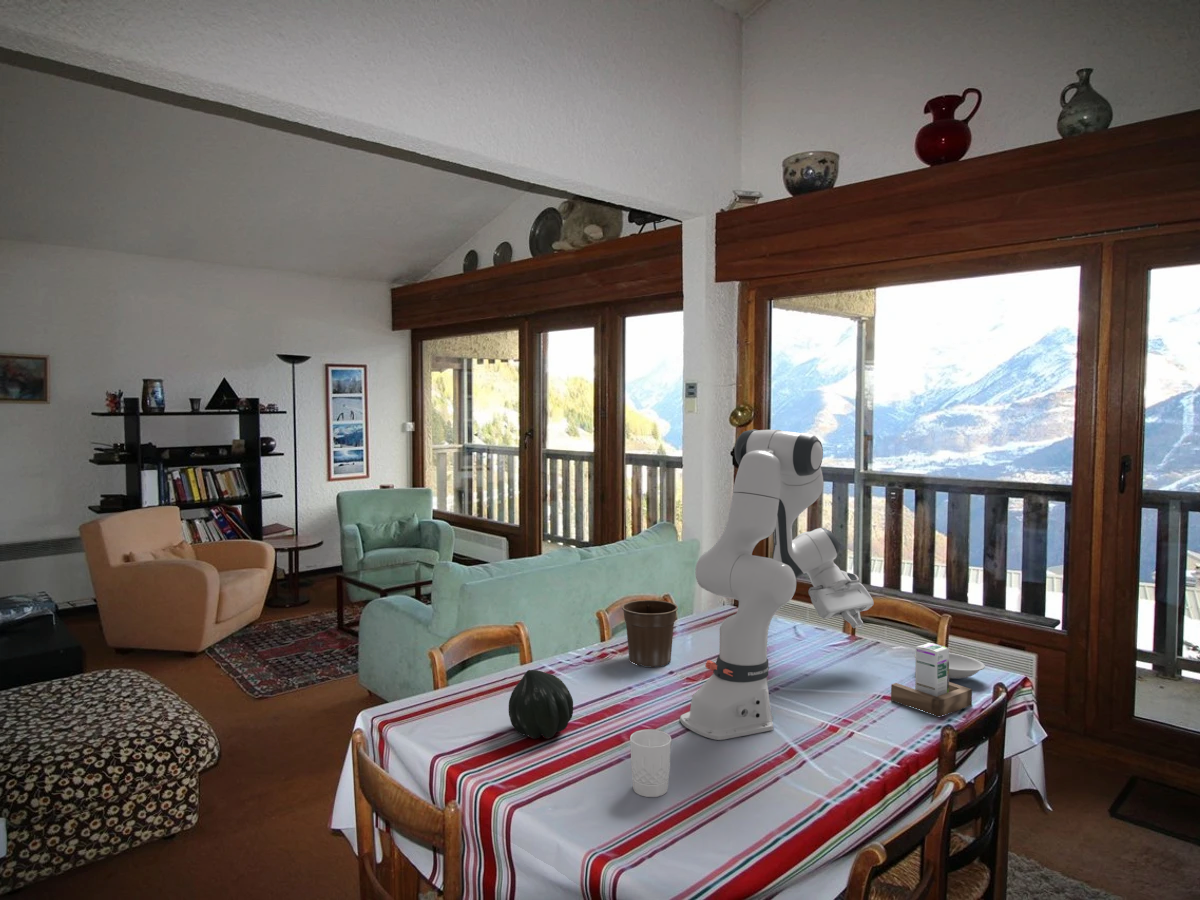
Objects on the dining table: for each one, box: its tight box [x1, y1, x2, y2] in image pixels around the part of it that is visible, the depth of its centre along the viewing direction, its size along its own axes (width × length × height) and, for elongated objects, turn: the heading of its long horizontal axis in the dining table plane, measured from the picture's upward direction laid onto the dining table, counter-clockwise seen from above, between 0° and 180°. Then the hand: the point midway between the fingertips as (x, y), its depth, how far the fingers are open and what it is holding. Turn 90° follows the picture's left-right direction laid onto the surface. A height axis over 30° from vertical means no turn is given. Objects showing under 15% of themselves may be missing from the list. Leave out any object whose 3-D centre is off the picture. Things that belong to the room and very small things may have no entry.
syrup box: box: [914, 642, 950, 697], centre depth 186 cm, size 6×6×14 cm
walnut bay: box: [890, 681, 973, 717], centre depth 187 cm, size 14×13×4 cm
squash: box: [508, 669, 574, 740], centre depth 169 cm, size 14×15×15 cm
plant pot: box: [621, 599, 679, 668], centre depth 217 cm, size 16×16×16 cm
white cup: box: [629, 728, 672, 798], centre depth 143 cm, size 8×8×10 cm
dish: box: [914, 652, 986, 680], centre depth 204 cm, size 18×14×5 cm
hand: (858, 626), depth 204 cm, fingers closed
